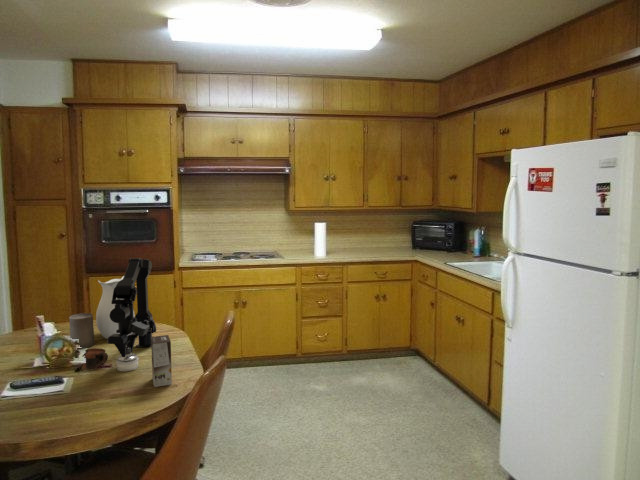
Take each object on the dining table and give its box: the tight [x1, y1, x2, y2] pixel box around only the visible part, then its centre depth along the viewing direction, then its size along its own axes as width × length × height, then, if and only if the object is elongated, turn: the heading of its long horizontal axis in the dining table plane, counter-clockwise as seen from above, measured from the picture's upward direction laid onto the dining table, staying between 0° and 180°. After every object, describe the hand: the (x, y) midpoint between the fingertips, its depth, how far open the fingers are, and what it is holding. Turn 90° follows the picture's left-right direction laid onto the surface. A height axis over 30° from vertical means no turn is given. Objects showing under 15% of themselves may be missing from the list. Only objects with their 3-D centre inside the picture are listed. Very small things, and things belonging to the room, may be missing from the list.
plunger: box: [116, 346, 138, 361], centre depth 193 cm, size 7×7×4 cm
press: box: [115, 355, 140, 372], centre depth 195 cm, size 11×8×4 cm
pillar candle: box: [68, 312, 96, 348], centre depth 220 cm, size 10×10×15 cm
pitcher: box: [95, 275, 135, 339], centre depth 237 cm, size 24×17×28 cm
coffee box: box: [150, 334, 173, 388], centre depth 180 cm, size 9×6×16 cm
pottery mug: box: [81, 347, 109, 370], centre depth 196 cm, size 12×10×8 cm
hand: (127, 354), depth 194 cm, fingers open, 5 cm apart
